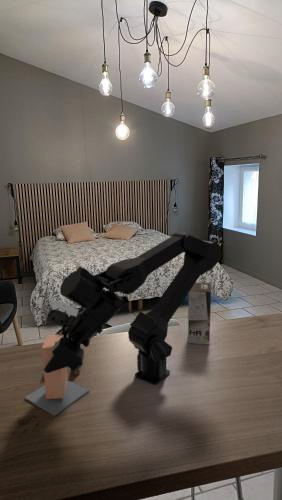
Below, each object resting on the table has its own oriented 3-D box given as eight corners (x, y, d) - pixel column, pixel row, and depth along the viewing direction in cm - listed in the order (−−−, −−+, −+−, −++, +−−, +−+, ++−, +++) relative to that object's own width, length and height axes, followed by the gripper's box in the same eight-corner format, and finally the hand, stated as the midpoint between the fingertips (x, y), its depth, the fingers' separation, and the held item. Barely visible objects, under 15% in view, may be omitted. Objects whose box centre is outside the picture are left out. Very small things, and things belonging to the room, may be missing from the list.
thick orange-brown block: (67, 382, 81) (63, 334, 79) (63, 398, 75) (58, 347, 73) (51, 382, 81) (47, 335, 78) (46, 399, 75) (41, 347, 73)
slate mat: (88, 391, 79) (88, 390, 79) (54, 416, 71) (54, 414, 71) (59, 377, 85) (59, 376, 85) (24, 398, 77) (24, 397, 77)
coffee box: (209, 345, 100) (211, 291, 97) (187, 343, 102) (187, 290, 98) (210, 331, 109) (211, 282, 106) (189, 330, 110) (189, 281, 107)
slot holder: (83, 356, 95) (83, 345, 95) (79, 374, 87) (78, 363, 86) (55, 357, 95) (54, 347, 94) (48, 375, 86) (47, 364, 86)
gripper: (74, 277, 83) (31, 323, 84) (60, 306, 64) (5, 363, 66) (108, 307, 84) (66, 351, 86) (104, 343, 66) (50, 398, 68)
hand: (48, 363), depth 77 cm, fingers closed on thick orange-brown block, 6 cm apart
